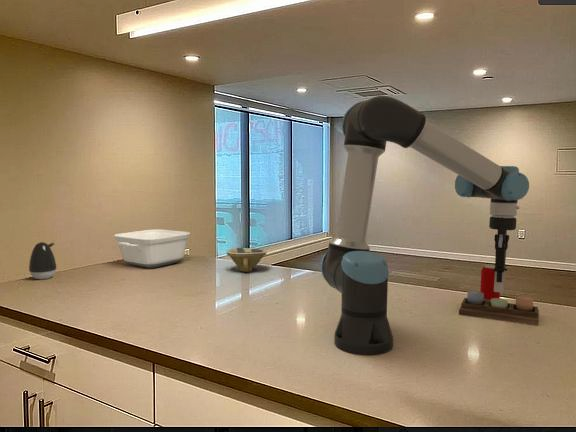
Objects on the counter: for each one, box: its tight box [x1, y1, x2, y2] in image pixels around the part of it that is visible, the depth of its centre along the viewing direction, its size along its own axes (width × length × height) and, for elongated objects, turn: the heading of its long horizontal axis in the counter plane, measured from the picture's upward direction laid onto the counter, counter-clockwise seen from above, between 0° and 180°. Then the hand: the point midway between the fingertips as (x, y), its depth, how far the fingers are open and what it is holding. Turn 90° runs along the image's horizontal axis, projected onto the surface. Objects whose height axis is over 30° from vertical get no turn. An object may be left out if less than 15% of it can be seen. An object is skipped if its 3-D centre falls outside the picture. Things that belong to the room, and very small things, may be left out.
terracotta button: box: [515, 296, 534, 311], centre depth 142 cm, size 5×5×3 cm
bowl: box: [226, 247, 267, 273], centre depth 209 cm, size 18×18×10 cm
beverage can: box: [479, 264, 501, 301], centre depth 161 cm, size 6×6×12 cm
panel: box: [458, 297, 540, 326], centre depth 145 cm, size 12×22×3 cm, turn 62°
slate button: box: [466, 290, 484, 304], centre depth 148 cm, size 5×5×3 cm
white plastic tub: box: [113, 228, 191, 269], centre depth 223 cm, size 34×29×15 cm
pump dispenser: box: [28, 241, 57, 280], centre depth 194 cm, size 10×10×15 cm
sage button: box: [491, 297, 509, 309], centre depth 145 cm, size 5×5×3 cm
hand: (498, 291), depth 145 cm, fingers closed
